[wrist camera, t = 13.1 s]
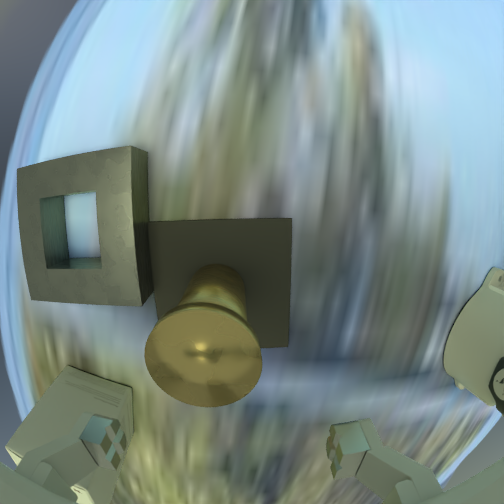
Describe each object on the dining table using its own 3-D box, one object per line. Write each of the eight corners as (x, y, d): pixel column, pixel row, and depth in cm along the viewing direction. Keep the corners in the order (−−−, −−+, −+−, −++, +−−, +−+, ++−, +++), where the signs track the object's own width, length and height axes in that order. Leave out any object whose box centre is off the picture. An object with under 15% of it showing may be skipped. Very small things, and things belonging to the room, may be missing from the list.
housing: (147, 152, 22) (131, 145, 18) (155, 288, 24) (141, 306, 20) (41, 169, 21) (17, 168, 17) (52, 286, 24) (31, 299, 20)
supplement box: (65, 362, 26) (1, 444, 11) (133, 386, 27) (88, 492, 12) (74, 412, 27) (31, 489, 13) (134, 433, 28) (105, 524, 14)
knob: (251, 255, 24) (262, 310, 13) (252, 321, 25) (261, 406, 14) (180, 257, 23) (135, 310, 12) (185, 321, 25) (155, 403, 14)
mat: (290, 218, 24) (291, 218, 23) (287, 344, 26) (288, 346, 26) (149, 222, 23) (148, 222, 23) (163, 346, 26) (162, 348, 25)
